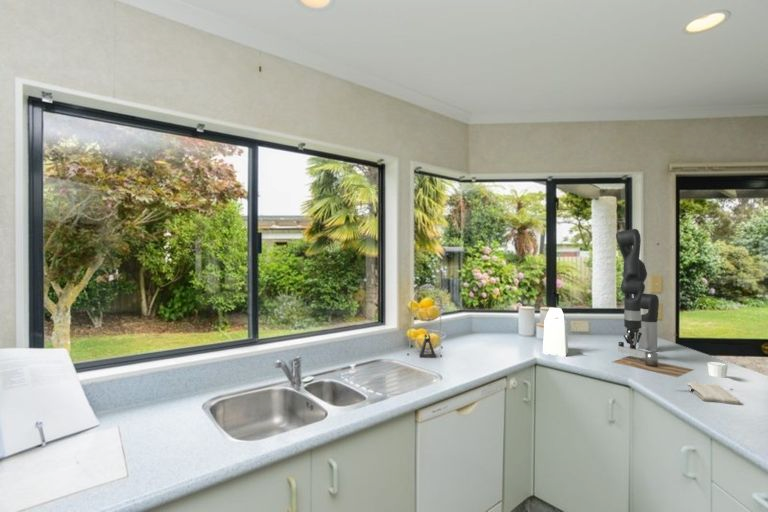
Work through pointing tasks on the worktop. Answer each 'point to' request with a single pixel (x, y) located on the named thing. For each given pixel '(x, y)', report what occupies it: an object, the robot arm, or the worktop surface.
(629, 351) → the lever
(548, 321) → the milk
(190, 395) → the worktop surface
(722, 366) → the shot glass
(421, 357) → the phone stand
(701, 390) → the washcloth
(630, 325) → the robot arm
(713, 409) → the worktop surface
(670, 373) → the dial plate
